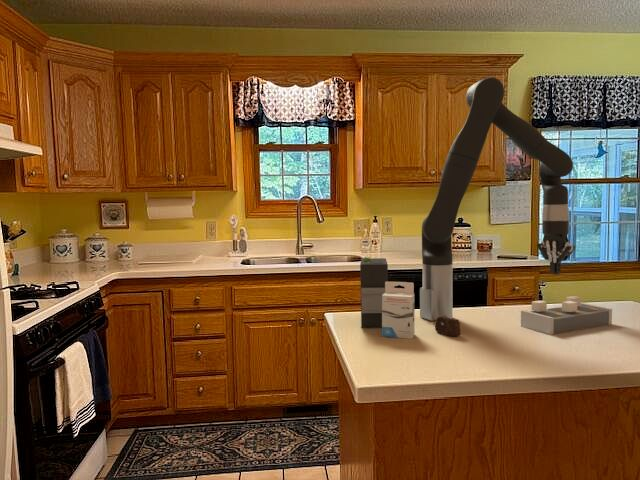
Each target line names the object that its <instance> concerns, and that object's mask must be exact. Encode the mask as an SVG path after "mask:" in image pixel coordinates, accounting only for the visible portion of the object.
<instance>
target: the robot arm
mask: <svg viewBox="0 0 640 480" xmlns="http://www.w3.org/2000/svg"><path fill="white" fill-rule="evenodd" d="M504 96H505V87H504V84H503V83H502V82H501V80H500V79H499V78H497V77H491V76H490V77H487V78H483V79H480V80H478V81H477V82H474V83H473V84H472V85H470V87H468V89H467V91H466V95H465V99H466V103H467V105H468V106H469V108H470V109H469V112H468V114H467V117H466V120H465V123H464V125H463V126H462V128H461V130H460V131H459V132H458V134H457V135H456V137H455V139H454V140H453V142H452V144H451V146H450V148H449V150H448V153H447V156H446V158H445V161H444V164H443V168H442V171H441V176H440V180H439V184H438V185H439V186H438V190H437V193H436V194H437V195H436V198H435V200H434V202H433V204H432V207H431V209H430V211H429V213H428V215H426V216H425V218H424V219H423V220H422V224H421V256H422V257H421V259H422V260H421V261H422V263H421V265H422V287H420V288H419V317H420V318H421V319H425V320H428V321H436V322H437V318H438V317H441V316H446V317H448V318H451V319H454V318H453V314H454V313H453V310H454V309H453V250H452V249H453V246H452V236H453V235H452V234H453V233H454V229H455V226H456V225H455V224H456V220H457V216H458V212H459V209H460V206H461V203H462V201H463V199H464V196H465V194H466V192H467V189H468V188H469V186H470V183H471V181H472V179H473V177H474V174H475V172H476V169H477V165H478V163H479V160H480V157H481V154H482V152H483V149H484V145H485V143H486V140H487V137H488V133H489V130H490V128H491V125H492V124H493V125H494V126H495V127H496V128H498V129H499V130H500V131H501V132H503V134H505V135H506V136H507V137H508V138H509V139H510V140H511V141H512V142H513V143H514V144H515V145H516V146H518V148H519V149H520V150H521V151H522V152H523V153H524V154H525V155H526V156H527V157H529V158H530V159H531V160H537V161H539V166H538V174H539V179H540V180H539V181H540V185H541V189H542V192H543V195H542V200H543V201H542V203H543V205H542V214H541V215H542V216H541V218H542V219H541V221H542V222H541V224H542V225H541V227H542V228H541V229H542V232H541V233H542V234H543V237H542V241H541V242H540V243H537V244H536V247H537V249H538V250H539V252H540V254H541V255H542V257H543V259H544V260H545V261H546V260H547V261H548V262H549V272H550V274H551V275H554V276H555V275H560V273H561V268H562V267H561V263H562V262H566V261H567V260H568V259H569V257H570V256H571V254H572V253H573V252H574V251H575V249H576V246H575V245H572V244H571V243H569V241H570V240H569V238H568V235H569V233H570V210H569V190H568V187H567V186H566V185H564V184H563V183H562V178H564V177H566V176H568V175H570V174H571V173H572V171H573V169H574V163H573V160H572V158H571V156H569V154H568V153H567V152H566V151H564V150H563V149H561V148H560V147H558V146H556V145H555V144H553V143H552V142H550V141H548V140H547V138H546V137H545V136H544V135H543V134H542V133H541V132H539V130H538V129H537V128H536V127H535V126H533V125H532V124H530V122H528V121H526V120H525V119H523V118H522V117H520V116H518V115H516V114H515V113H514V112H512V111H511V110H510V109H509V108H508V107H506V105H505V104H504V103H503V101H504Z"/></svg>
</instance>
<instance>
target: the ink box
mask: <svg viewBox="0 0 640 480" xmlns="http://www.w3.org/2000/svg"><path fill="white" fill-rule="evenodd" d="M414 285H415V284H414V282H413V281H412V282H407V281H388V282H385V293H384V294H383V295H382V328H381V333H382V334H381V335H382V336H381V337H385V338H395V339H396V338H398V339H409V340H410V339H411V340H412V339H413V338H414V335H415V292H414V290H415V289H414V288H415V286H414ZM398 286H401V287H404V288H401V287H398Z"/></svg>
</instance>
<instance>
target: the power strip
mask: <svg viewBox="0 0 640 480" xmlns="http://www.w3.org/2000/svg"><path fill="white" fill-rule="evenodd" d="M608 325H613V308H610V307H606V306H601V305H596V304H590V303H587V302H581V306H577V311H574V312H566V311H562V306H560V307H551V308H547V310H546V311H539V312H538V311H534V310H531V311H528V310H525V309H524V310H523V309H522V310H520V326H521V327H523V328H525V329H526V328H527V329H528V330H533V331H537V332H539V333H543V334H547V335H554V334H555V335H556V334H560V333H566V332H573V331H579V330H584V329H590V328H596V327H597V328H598V327H603V326H608Z"/></svg>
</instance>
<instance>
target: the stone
mask: <svg viewBox="0 0 640 480" xmlns="http://www.w3.org/2000/svg"><path fill="white" fill-rule="evenodd" d="M434 329H435V332H437V333H438V334H442V335H444V336H445V335H446V336H447V337H458V336H460V335H461V324H460V320H459V319H457V318H455V319H454V318H452V319H451V318H448V317H446V316H441V317H438V318H437V321H436V323H435V325H434Z"/></svg>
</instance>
